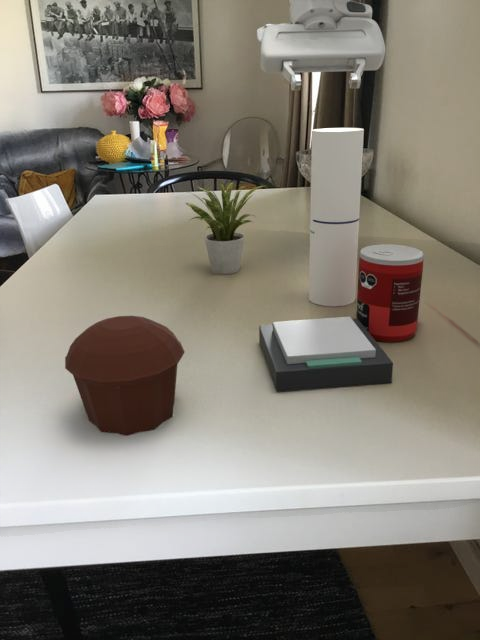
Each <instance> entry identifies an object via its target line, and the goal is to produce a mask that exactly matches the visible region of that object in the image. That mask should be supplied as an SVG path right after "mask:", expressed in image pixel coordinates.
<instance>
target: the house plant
mask: <svg viewBox="0 0 480 640" xmlns="http://www.w3.org/2000/svg"><path fill="white" fill-rule="evenodd" d="M219 182H220V187H221V200H222V203H221V202H220V200H219V198H218V196H217V195H216V193H215V192H214V191H213V189H211V188H210V187H209V186H208V185H206V187H207V188H208V189H209V190H208V189H206V188H203V187H201V186H200V187H199V186H197V189H200V190H202V191H203V192H204V194H206V196H207V197H208V198H209V199H210V200H209V199H208V198H204V197H199V196H198V195H196V194H194V193H192V192H187V193H188V194H191V195H193V196H195V198H197V199H198V200H199V201H201V203H202V204H203V205H204V206H205V207H206V209H207V210H208V211H209V212H210V214H211V215H212V216H213V217H212V216H211V215H210V214H209V213H208V212H207V211H206V210H204V209H202V208H201V207H199V206H197V205H195V204H193V203H189V202H185V204H186V206H187V207H190V208H191V210H192V211H193V212H194V213H195V214H197V216H194V217H192V218H191V219H190V221H192V220H193V219H195V220H197V219H198V220H200V221H205V222H206V224H207V227H206V228H205V230H208V229H210V230H211V232H212V233H209V234H206V235H205V236H204V242H205V247H206V250H207V255H208V260H209V265H210V270H211V272H212V273H214V274H217V275H232V274H235V273H238V272H240V270H241V264H242V256H243V248H244V240H245V236H244V234H242V233H240V232H236V230H237V229H238V228H239V227H240V226H243V225H244V224H248V223H254V221H252V220H250V219H246V218H248V217H251V216H252V217H255V215H253V214H249V213H244V214H242V215H241V216H240V217H238V215H239V213H240V211H241V209H242V208H244V206H245V205H246V203H247V202H248V201H249V200H250V199H251V198H252V197H253V196H254V195H255V193H253V192H256V190H258V189H260V188H264V187H268V184H267V185H259V186H256V187H253V188H252V189H250V190H248V191H247V192H246V193H244V195H243V197H242V198H240V201H239V202H238V200H239V197H240V193H241V192H242V191H241V189H243V188H246V187H247V186H246V185H244V186H241V187H239V188H238V189H237V190H236V192H235V194H234V196H233V198H232V199H231V196H232V195H231V194H232V190H233V184H234V182H233V181H232V182H229V183H228V184H227V187H226V190H225V186H224V184H223V182H222V181H221V180H220V181H219ZM202 184H204V185H205V183H204V182H202ZM252 193H253V194H252ZM221 204H222V205H221ZM237 217H238V219H237Z"/></svg>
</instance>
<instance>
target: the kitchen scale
mask: <svg viewBox="0 0 480 640" xmlns="http://www.w3.org/2000/svg"><path fill="white" fill-rule="evenodd" d="M258 336H259V337H258V338H259V340H258V341H259V346H260V349H261V351H262V354H263V357H264V361H265V363H266V366H267V369H268V371H269V375H270V378H271V380H272V383H273V386H274V390H275V392H276V393H282V392H294V391H306V390H307V391H308V390H317V389H318V390H319V389H331V388H343V387H355V386H356V387H357V386H367V385H378V384H379V385H380V384H391V383H392V381H393V370H394V369H393V368H394V362H393V361H392V359H391V358H390V356H388V354H387V353H386V352H385V350H383V348H382V347H381V346H380V345H379V343H378V342H377V340H374V338H373V337H372V336H371V335H370V334H369V332H368V331H367V330H366V329H365V327H364V326H363V325H362V324H361V322H360V321H359V320H358V319H356V318H352V317H351V316H338V317H325V318H323V317H322V318H310V319H296V320H281V321H272V324H261V325H258Z"/></svg>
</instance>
